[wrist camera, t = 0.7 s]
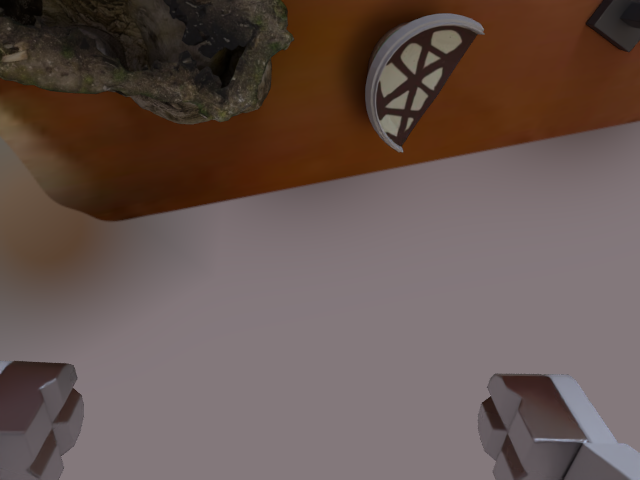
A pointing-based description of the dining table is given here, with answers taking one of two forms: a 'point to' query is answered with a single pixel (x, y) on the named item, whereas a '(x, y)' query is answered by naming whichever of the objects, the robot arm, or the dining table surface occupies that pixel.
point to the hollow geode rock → (148, 51)
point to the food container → (413, 71)
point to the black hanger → (618, 22)
